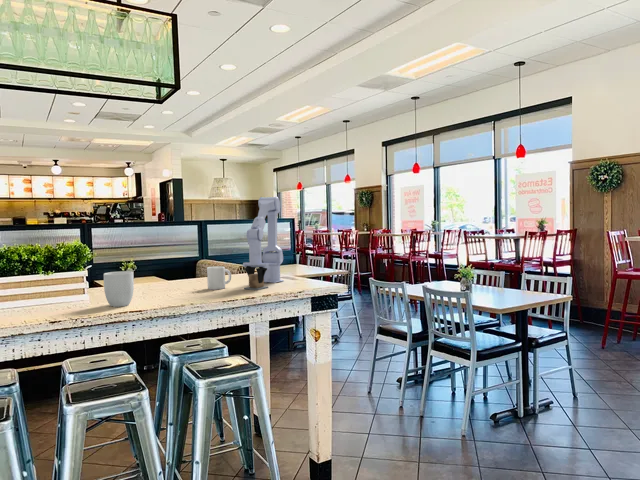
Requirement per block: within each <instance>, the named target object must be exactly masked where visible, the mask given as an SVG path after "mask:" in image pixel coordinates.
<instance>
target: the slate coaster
mask: <svg viewBox="0 0 640 480" xmlns="http://www.w3.org/2000/svg"><path fill="white" fill-rule="evenodd" d="M265 289H269V286H265V285H264V287H259V288H252V287H249V286H248V287H247V286H245V287H244V290H250V291H260V290H265Z"/></svg>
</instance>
